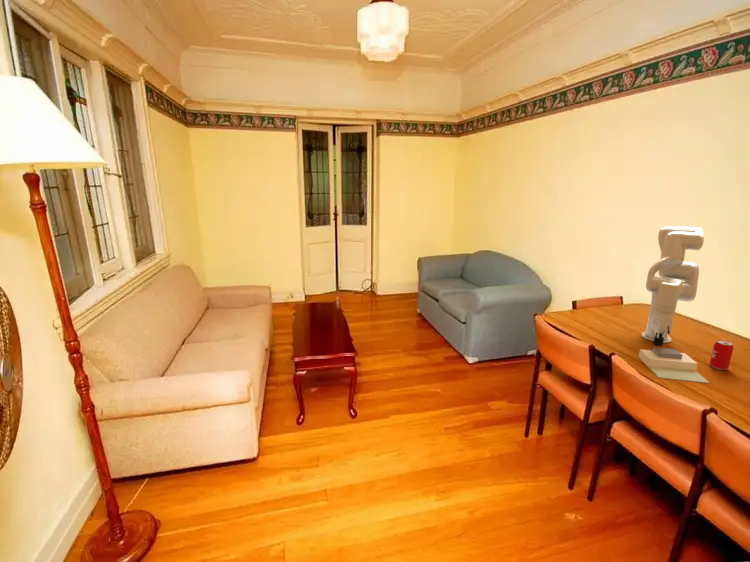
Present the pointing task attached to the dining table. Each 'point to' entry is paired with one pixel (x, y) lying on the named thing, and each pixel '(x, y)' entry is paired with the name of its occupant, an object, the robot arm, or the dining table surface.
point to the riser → (667, 361)
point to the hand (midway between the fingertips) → (657, 345)
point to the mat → (678, 374)
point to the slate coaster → (667, 353)
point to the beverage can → (721, 354)
